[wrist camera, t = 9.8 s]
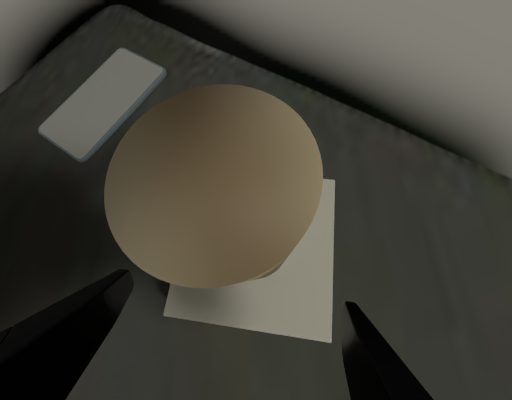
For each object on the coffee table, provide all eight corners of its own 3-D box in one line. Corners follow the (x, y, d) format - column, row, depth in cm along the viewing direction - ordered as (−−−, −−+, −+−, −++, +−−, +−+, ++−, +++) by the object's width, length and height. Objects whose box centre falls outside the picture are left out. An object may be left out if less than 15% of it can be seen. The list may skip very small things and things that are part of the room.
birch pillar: (242, 292, 17) (151, 343, 4) (210, 232, 18) (78, 143, 6) (301, 255, 17) (372, 204, 5) (265, 200, 19) (250, 56, 6)
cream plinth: (322, 332, 18) (331, 342, 15) (179, 309, 19) (163, 315, 16) (326, 192, 22) (334, 180, 19) (206, 181, 23) (197, 168, 20)
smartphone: (33, 130, 26) (120, 44, 29) (41, 135, 27) (125, 51, 30) (80, 163, 24) (168, 68, 27) (87, 167, 25) (171, 75, 28)
